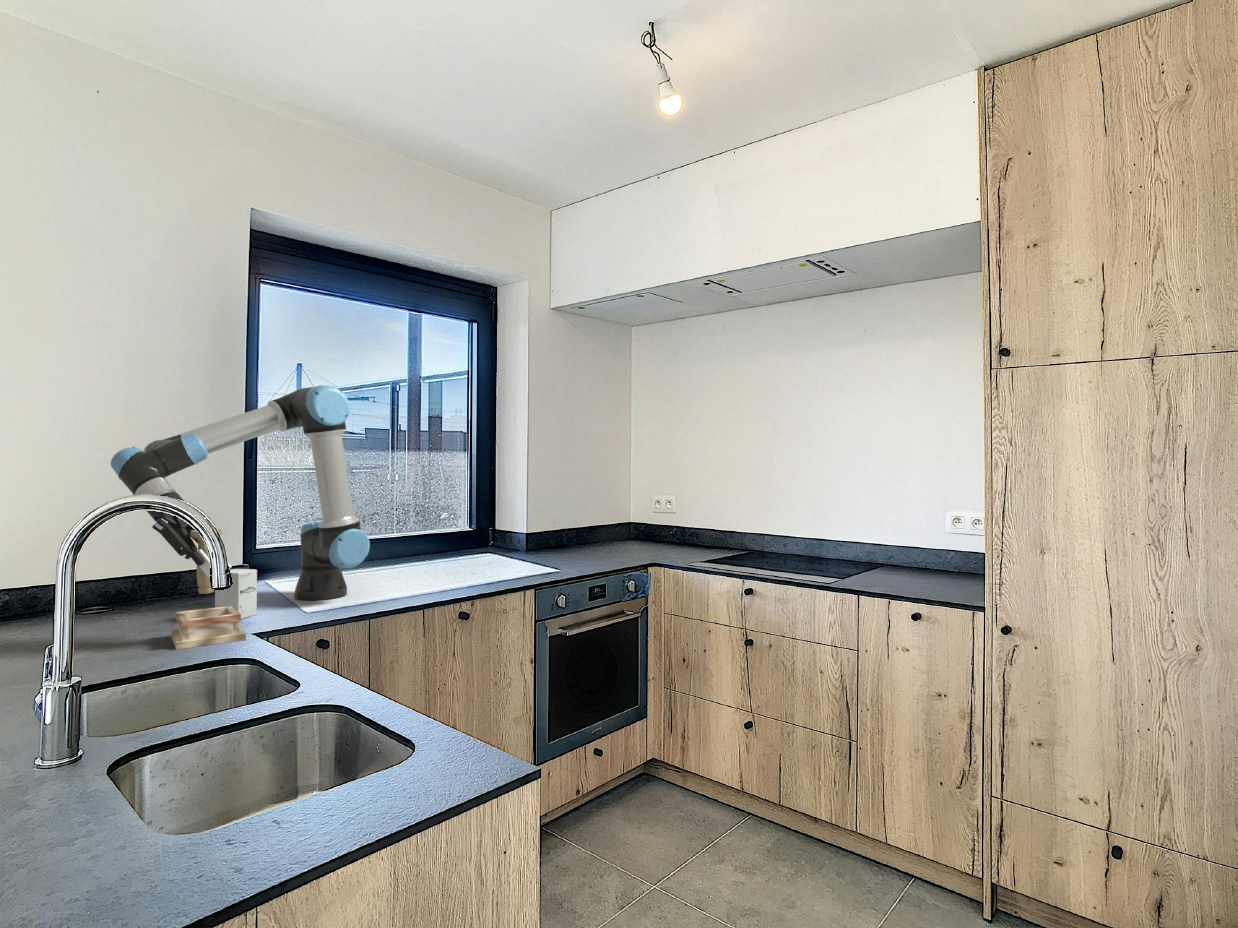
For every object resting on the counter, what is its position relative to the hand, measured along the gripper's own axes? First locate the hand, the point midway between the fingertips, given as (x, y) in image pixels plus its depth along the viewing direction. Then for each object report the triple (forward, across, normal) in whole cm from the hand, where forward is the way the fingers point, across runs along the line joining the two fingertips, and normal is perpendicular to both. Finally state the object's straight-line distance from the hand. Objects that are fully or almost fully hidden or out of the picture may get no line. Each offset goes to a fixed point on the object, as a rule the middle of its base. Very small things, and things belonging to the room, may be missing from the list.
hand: (220, 572), depth 165 cm
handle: (+1, 0, -6) cm, 7 cm away
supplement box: (+2, -21, -21) cm, 30 cm away
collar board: (+9, 0, -14) cm, 16 cm away
